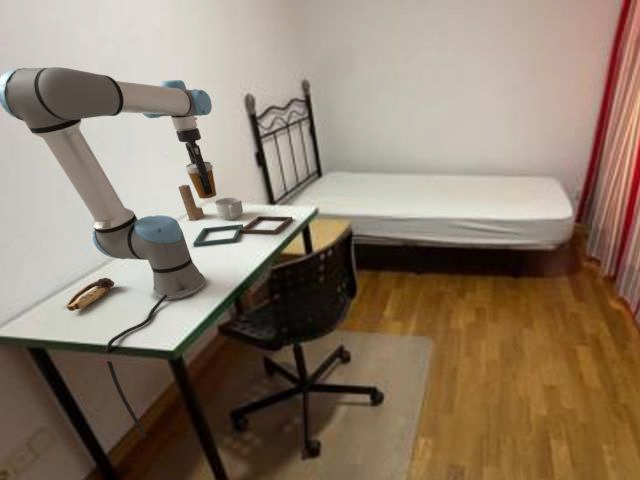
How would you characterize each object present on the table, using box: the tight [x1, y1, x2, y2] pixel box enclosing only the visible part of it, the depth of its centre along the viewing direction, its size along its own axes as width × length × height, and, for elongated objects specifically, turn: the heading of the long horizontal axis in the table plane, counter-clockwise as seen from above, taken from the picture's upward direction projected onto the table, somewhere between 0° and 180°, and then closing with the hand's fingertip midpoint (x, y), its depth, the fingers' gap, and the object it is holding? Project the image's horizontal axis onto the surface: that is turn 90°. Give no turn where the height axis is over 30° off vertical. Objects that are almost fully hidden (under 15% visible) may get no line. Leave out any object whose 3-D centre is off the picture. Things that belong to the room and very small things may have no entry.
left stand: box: [192, 223, 244, 247], centre depth 183 cm, size 16×16×2 cm
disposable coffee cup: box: [185, 161, 217, 200], centre depth 171 cm, size 10×10×12 cm
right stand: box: [240, 215, 294, 235], centre depth 190 cm, size 16×16×2 cm
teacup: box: [214, 197, 244, 221], centre depth 199 cm, size 14×11×8 cm
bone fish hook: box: [66, 277, 115, 312], centre depth 142 cm, size 9×5×18 cm
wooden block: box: [178, 184, 205, 221], centre depth 200 cm, size 7×3×15 cm, turn 169°
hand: (206, 191), depth 174 cm, fingers closed on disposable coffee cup, 8 cm apart
